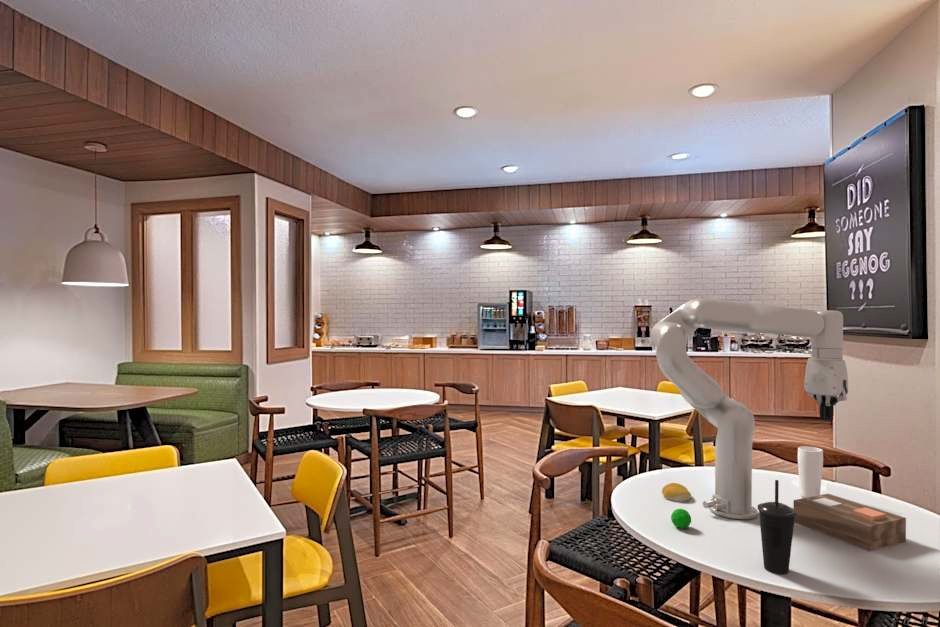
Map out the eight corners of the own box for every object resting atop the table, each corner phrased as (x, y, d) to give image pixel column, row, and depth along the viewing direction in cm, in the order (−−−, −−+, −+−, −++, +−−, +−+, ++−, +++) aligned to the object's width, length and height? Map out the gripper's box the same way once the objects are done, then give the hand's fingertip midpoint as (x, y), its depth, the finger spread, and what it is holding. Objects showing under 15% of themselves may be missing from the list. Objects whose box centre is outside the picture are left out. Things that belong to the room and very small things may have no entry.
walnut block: (869, 551, 136) (869, 526, 136) (793, 521, 154) (793, 500, 154) (905, 541, 141) (905, 517, 141) (828, 514, 160) (828, 493, 160)
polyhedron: (674, 522, 154) (674, 505, 154) (693, 526, 151) (693, 508, 151) (668, 528, 150) (668, 510, 150) (688, 532, 147) (688, 514, 147)
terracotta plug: (873, 532, 139) (873, 516, 139) (852, 525, 144) (852, 510, 144) (885, 529, 141) (886, 513, 141) (865, 522, 146) (865, 507, 146)
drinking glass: (827, 501, 171) (828, 451, 171) (805, 501, 171) (805, 451, 171) (814, 493, 178) (814, 446, 177) (792, 493, 178) (793, 446, 178)
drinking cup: (804, 574, 124) (804, 483, 124) (776, 579, 122) (776, 487, 122) (776, 559, 131) (776, 474, 131) (749, 564, 129) (749, 476, 129)
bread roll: (665, 502, 171) (665, 488, 171) (660, 492, 180) (660, 480, 180) (694, 503, 169) (694, 490, 169) (687, 493, 178) (687, 481, 178)
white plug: (829, 521, 150) (829, 506, 150) (811, 514, 154) (811, 500, 154) (842, 518, 152) (842, 503, 151) (824, 512, 156) (824, 497, 156)
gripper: (793, 352, 164) (792, 415, 164) (844, 356, 150) (843, 425, 151) (810, 351, 167) (810, 413, 167) (862, 356, 153) (862, 423, 154)
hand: (826, 419), depth 159 cm, fingers closed
